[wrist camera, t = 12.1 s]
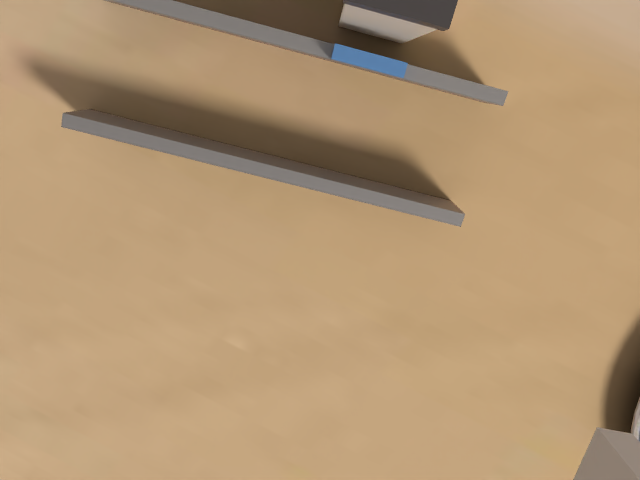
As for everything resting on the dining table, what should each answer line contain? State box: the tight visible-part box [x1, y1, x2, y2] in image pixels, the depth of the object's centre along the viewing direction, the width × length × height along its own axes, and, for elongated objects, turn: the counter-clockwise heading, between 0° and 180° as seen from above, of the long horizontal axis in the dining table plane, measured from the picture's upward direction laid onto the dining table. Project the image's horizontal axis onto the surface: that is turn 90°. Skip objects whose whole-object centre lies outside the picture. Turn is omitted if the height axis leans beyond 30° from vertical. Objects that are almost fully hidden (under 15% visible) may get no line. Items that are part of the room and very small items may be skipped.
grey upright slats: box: [61, 0, 508, 227], centre depth 29 cm, size 24×15×4 cm, turn 76°
